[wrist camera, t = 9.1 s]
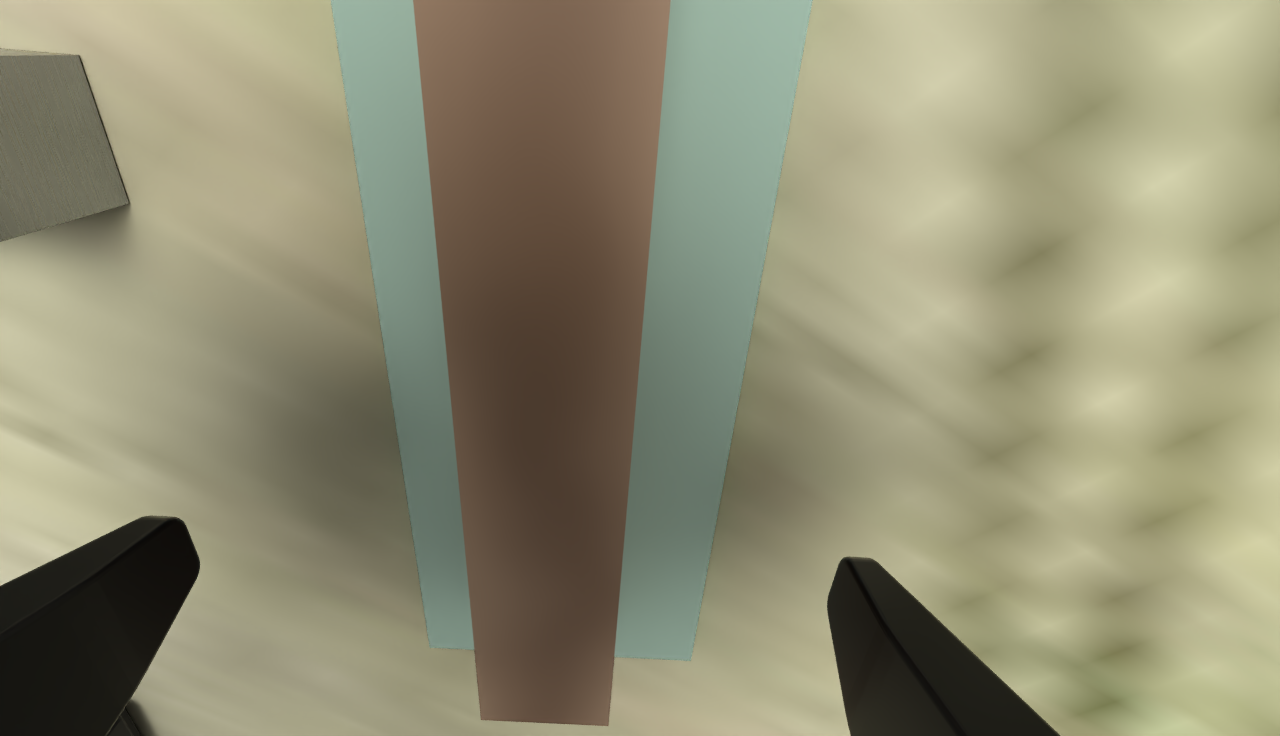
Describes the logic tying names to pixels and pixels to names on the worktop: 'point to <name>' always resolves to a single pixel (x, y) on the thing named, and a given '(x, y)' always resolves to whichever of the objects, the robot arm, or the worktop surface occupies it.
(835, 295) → the worktop surface
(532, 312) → the rail
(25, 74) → the post
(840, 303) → the worktop surface
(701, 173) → the mat
